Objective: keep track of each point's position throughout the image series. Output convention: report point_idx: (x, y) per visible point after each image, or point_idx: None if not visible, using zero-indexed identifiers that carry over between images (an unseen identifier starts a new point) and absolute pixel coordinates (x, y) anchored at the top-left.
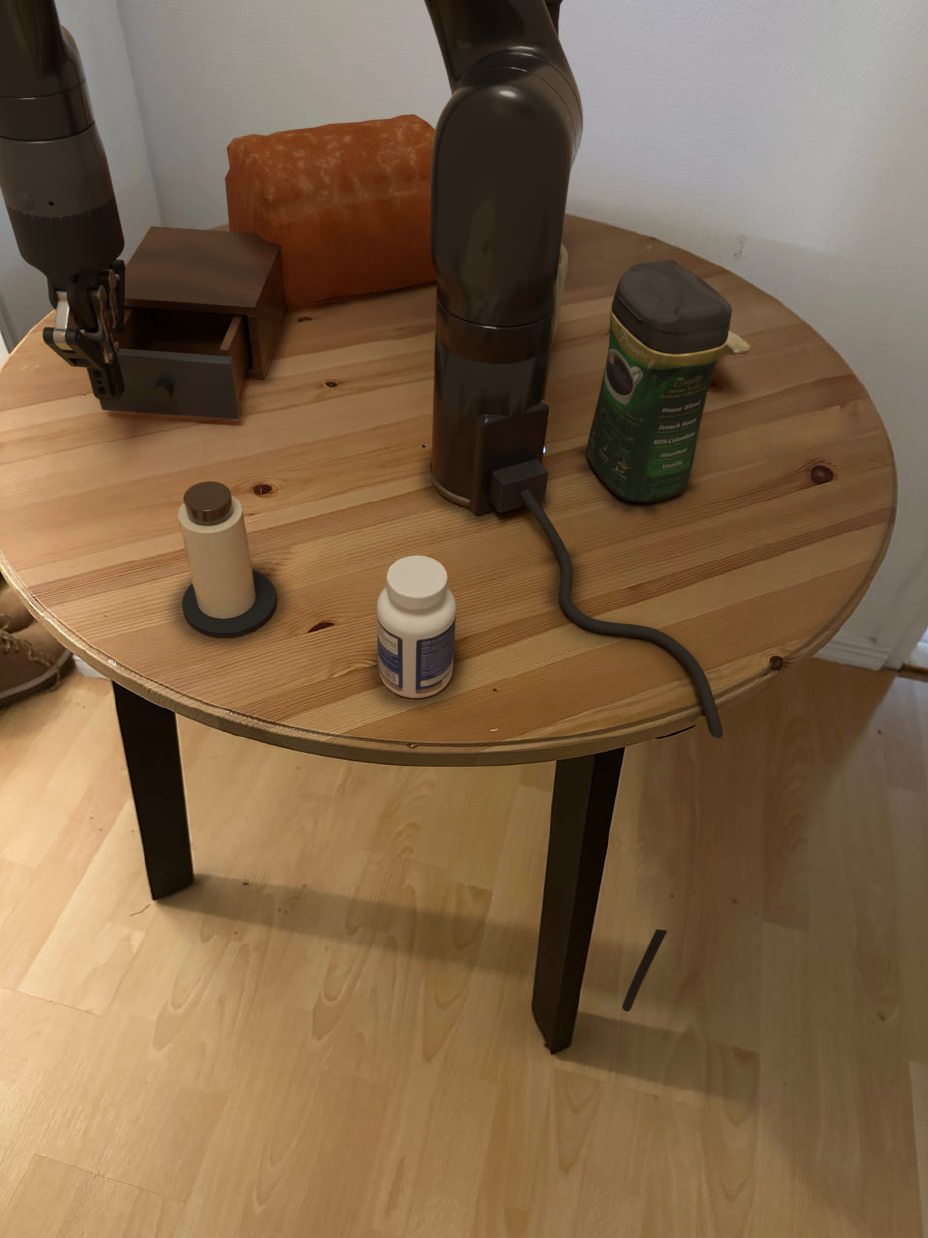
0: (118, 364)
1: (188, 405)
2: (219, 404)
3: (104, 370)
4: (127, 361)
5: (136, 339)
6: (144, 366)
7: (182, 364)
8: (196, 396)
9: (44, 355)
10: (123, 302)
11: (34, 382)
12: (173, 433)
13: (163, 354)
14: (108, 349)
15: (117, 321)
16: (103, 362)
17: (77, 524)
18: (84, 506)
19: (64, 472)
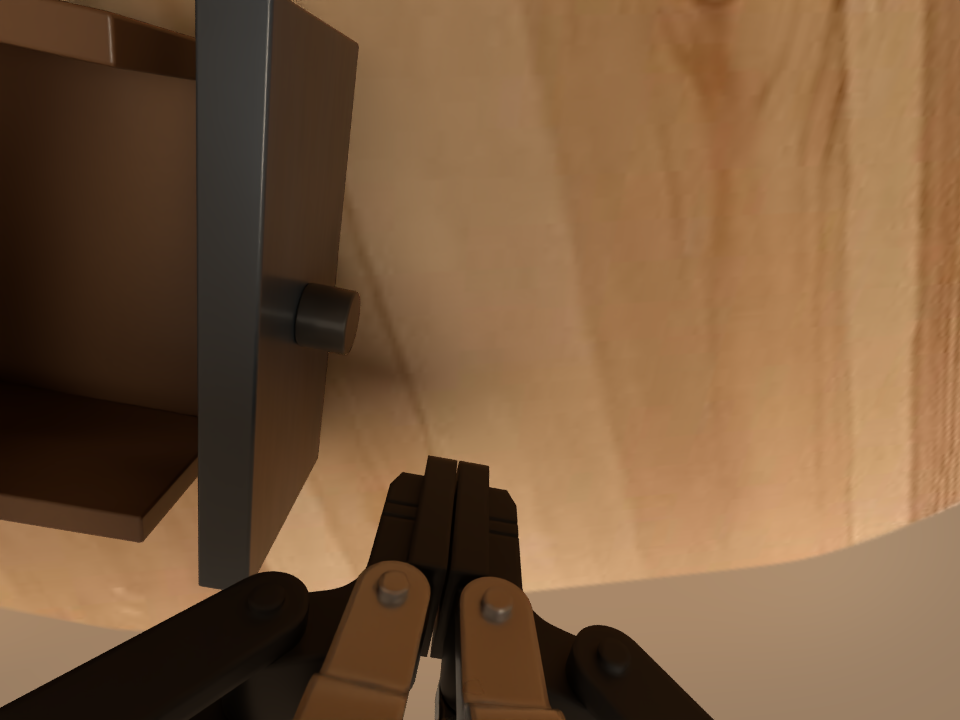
0: (427, 529)
1: (329, 226)
2: (337, 108)
3: (521, 587)
4: (263, 464)
5: (13, 421)
6: (272, 401)
7: (269, 256)
8: (322, 197)
9: (69, 583)
10: (98, 675)
11: (185, 589)
12: (390, 268)
13: (223, 342)
14: (504, 642)
15: (365, 697)
16: (623, 650)
17: (735, 460)
18: (673, 453)
19: (537, 502)
